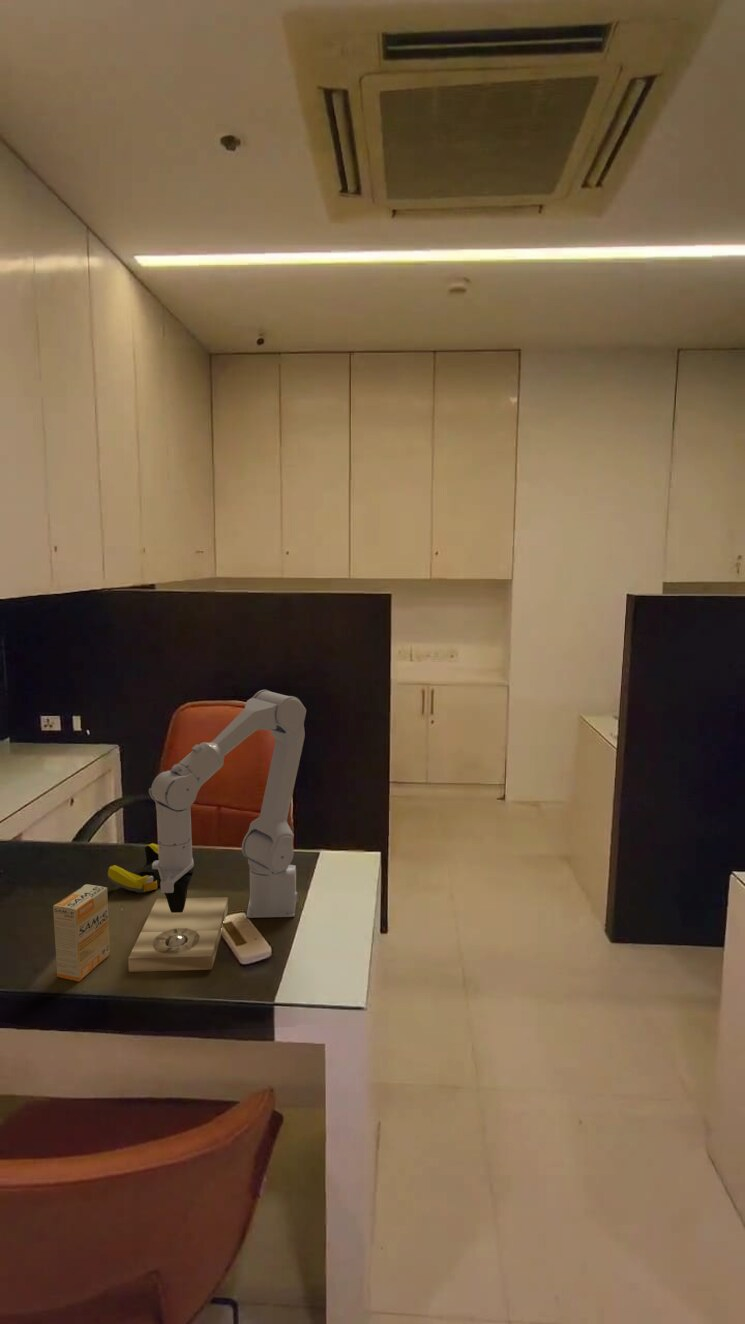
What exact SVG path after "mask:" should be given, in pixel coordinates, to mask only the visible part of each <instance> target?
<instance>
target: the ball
mask: <svg viewBox="0 0 745 1324" xmlns="http://www.w3.org/2000/svg"><path fill="white" fill-rule="evenodd" d="M185 943H187V942H186V939H185V937H184V936H182V935H174V936H173V937H171V939H170V940H169V942H168V946H169V947H179V946H182V945H184V944H185Z"/></svg>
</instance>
